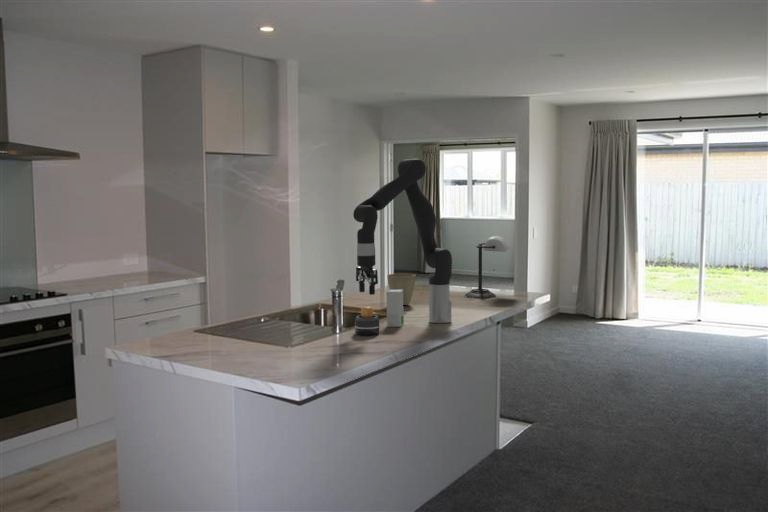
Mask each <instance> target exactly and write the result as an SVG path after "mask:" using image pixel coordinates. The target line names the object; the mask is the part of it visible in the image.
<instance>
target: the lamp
mask: <svg viewBox="0 0 768 512" xmlns="http://www.w3.org/2000/svg"><path fill="white" fill-rule="evenodd" d="M475 247H476V249H478V281H477V282H478V288H473V289H470V290H469V291H468V292H466V293H465V294H464V295H465V296H468V297H467V298H469V297H473V298H472V299H492V298H491V297H493V298H496V297H497V295H496V294H495V293H493V292H492V291H490V290H489V289H488V288H483V251H484V252H487V251H488V252H497V253H499V252H500V253H501V252H502V253H506V252H508V251H509V250H510V248H509V247H510V246H509V244H508V243H507V240H506V239H505V238H504V237H501V236H500V235H493V236H490V237H489V238H487V239H486V240H485V241H484V242H482V243H478V245H476V246H475ZM492 271H493V272H496V269H495V268H493V269H492ZM465 296H464V297H465Z"/></svg>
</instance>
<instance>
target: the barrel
mask: <svg viewBox="0 0 768 512" xmlns="http://www.w3.org/2000/svg"><path fill="white" fill-rule="evenodd" d="M354 329H355V330H354V334H355V335H356V334H357V335H356V336H358V335H361V336H360V337H375V336H379V335H380V318H379V315H376V314H373V318H361V314H358V315H356V317H355V319H354ZM374 335H375V336H374Z"/></svg>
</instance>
